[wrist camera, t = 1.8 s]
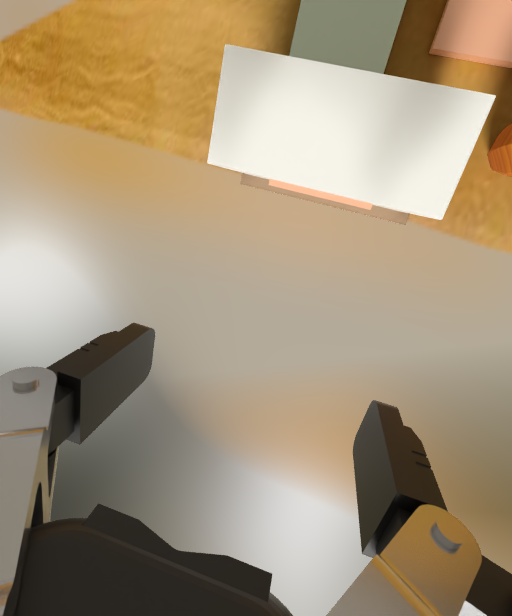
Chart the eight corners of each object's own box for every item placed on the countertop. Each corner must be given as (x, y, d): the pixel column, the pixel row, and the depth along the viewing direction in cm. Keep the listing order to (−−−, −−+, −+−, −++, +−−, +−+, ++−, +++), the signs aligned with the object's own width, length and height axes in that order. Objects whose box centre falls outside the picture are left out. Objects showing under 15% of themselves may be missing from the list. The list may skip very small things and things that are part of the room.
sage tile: (416, -33, 24) (419, -42, 23) (378, 89, 27) (379, 85, 26) (314, -48, 25) (313, -57, 24) (288, 71, 28) (286, 67, 27)
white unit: (439, 130, 27) (529, 75, 15) (402, 223, 30) (452, 242, 18) (261, 93, 29) (211, 17, 17) (243, 184, 32) (189, 176, 20)
